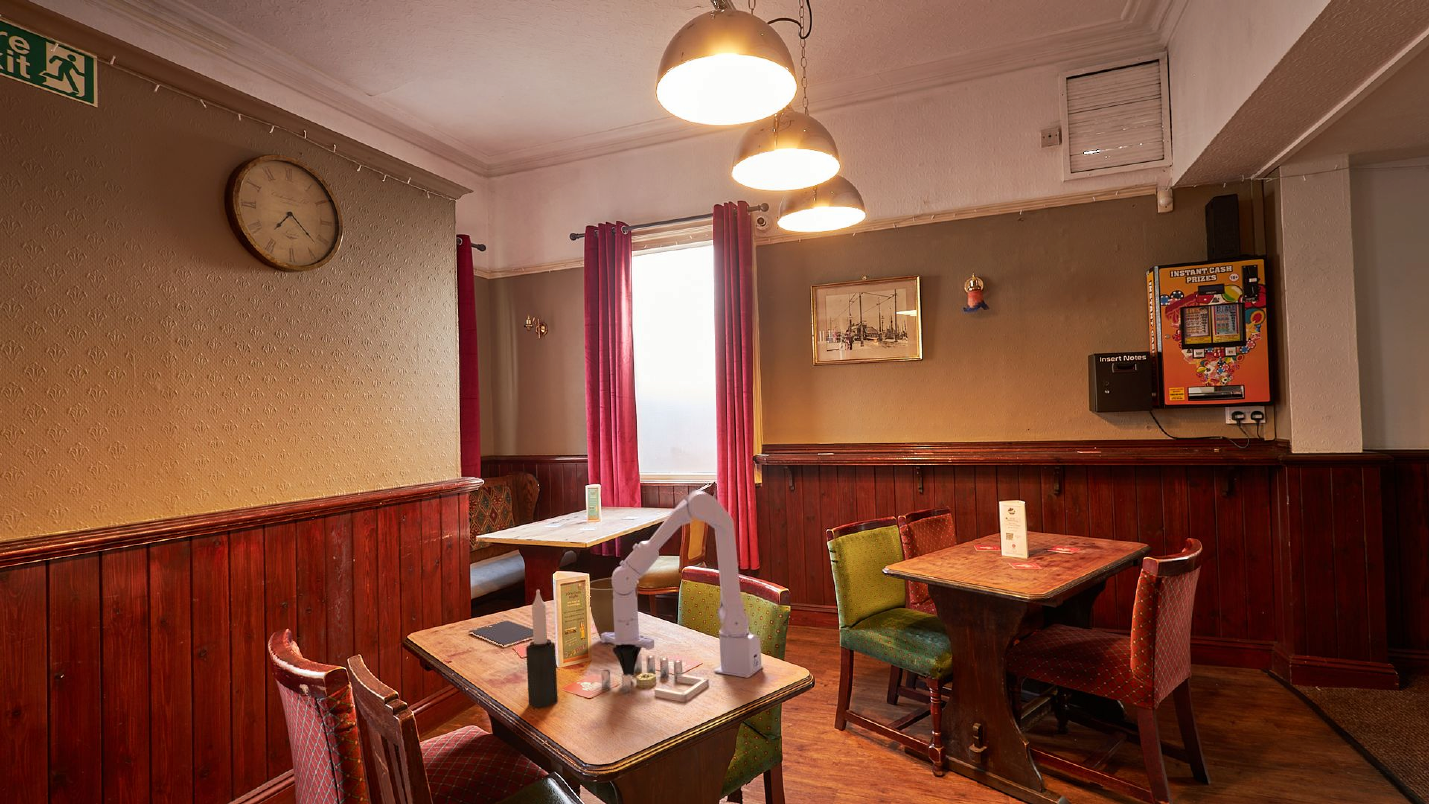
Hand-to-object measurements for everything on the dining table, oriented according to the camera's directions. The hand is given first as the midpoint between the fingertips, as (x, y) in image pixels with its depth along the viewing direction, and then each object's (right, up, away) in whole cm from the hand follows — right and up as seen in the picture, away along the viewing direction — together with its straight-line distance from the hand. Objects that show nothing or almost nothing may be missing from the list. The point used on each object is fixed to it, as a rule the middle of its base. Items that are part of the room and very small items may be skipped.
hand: (628, 675), depth 164 cm
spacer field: (+4, -1, -2) cm, 4 cm away
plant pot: (-8, -2, +31) cm, 32 cm away
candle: (-18, -2, -10) cm, 21 cm away
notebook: (-41, -5, +41) cm, 59 cm away
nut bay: (+13, 0, -8) cm, 15 cm away
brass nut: (+4, -1, -3) cm, 5 cm away
